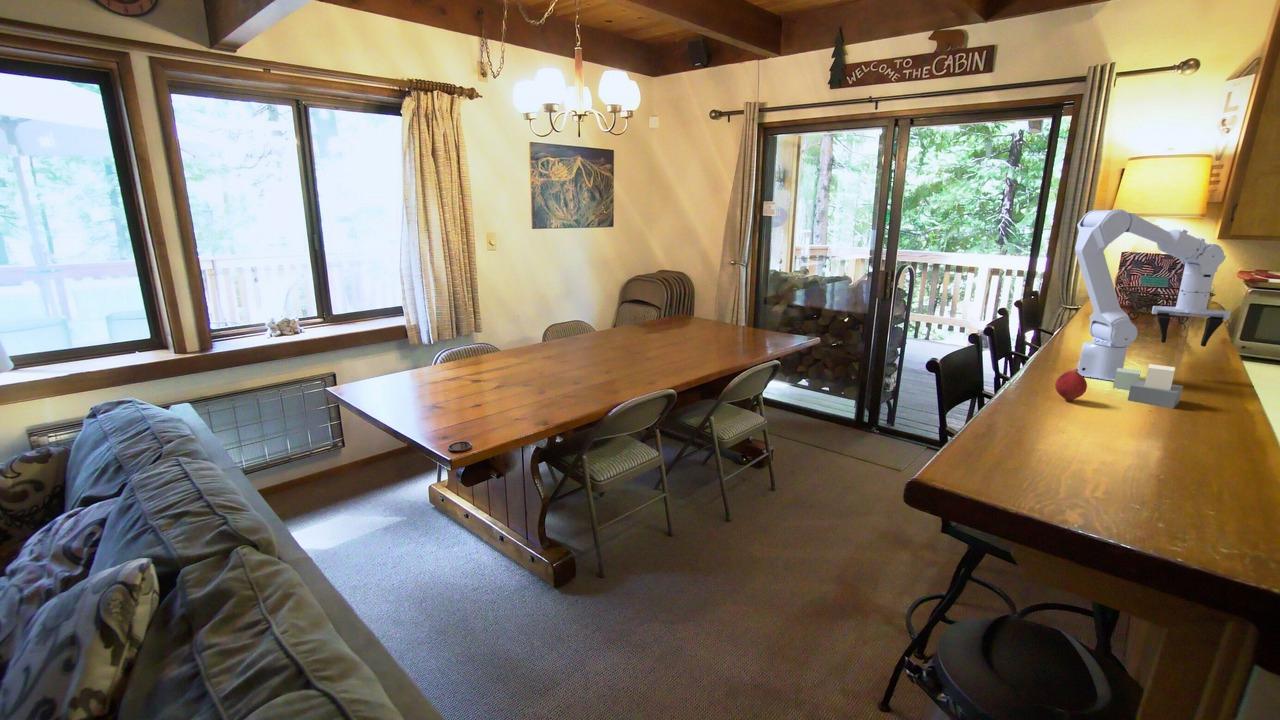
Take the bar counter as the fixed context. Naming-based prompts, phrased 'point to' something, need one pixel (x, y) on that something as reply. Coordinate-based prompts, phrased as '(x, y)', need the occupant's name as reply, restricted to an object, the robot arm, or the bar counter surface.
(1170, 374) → the cream block
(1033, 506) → the bar counter surface
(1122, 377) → the sage block
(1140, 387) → the base block
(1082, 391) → the onion
